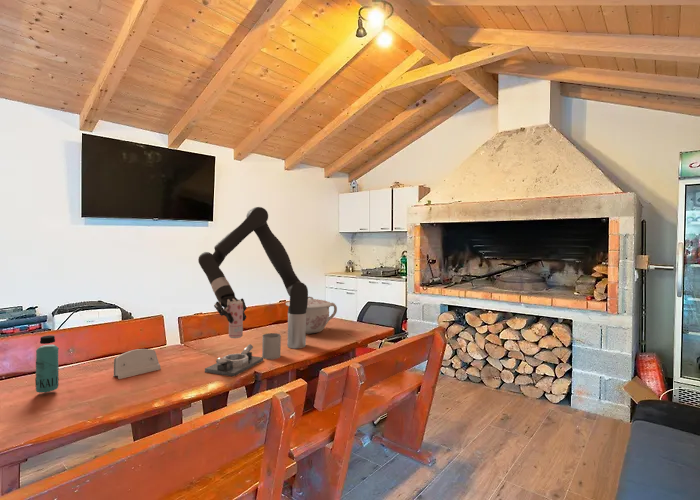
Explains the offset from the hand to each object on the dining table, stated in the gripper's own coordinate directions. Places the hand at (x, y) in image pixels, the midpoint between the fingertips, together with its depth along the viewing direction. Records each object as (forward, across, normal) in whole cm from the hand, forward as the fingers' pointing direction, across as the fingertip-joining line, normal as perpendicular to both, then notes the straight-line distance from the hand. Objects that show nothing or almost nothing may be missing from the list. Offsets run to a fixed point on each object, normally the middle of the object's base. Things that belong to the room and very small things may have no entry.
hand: (238, 320), depth 168 cm
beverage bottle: (-3, -61, +31) cm, 68 cm away
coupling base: (+13, 0, +15) cm, 20 cm away
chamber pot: (-2, +66, +31) cm, 73 cm away
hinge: (-3, -31, +32) cm, 44 cm away
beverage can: (+4, 0, +6) cm, 8 cm away
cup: (+13, +19, +15) cm, 28 cm away
